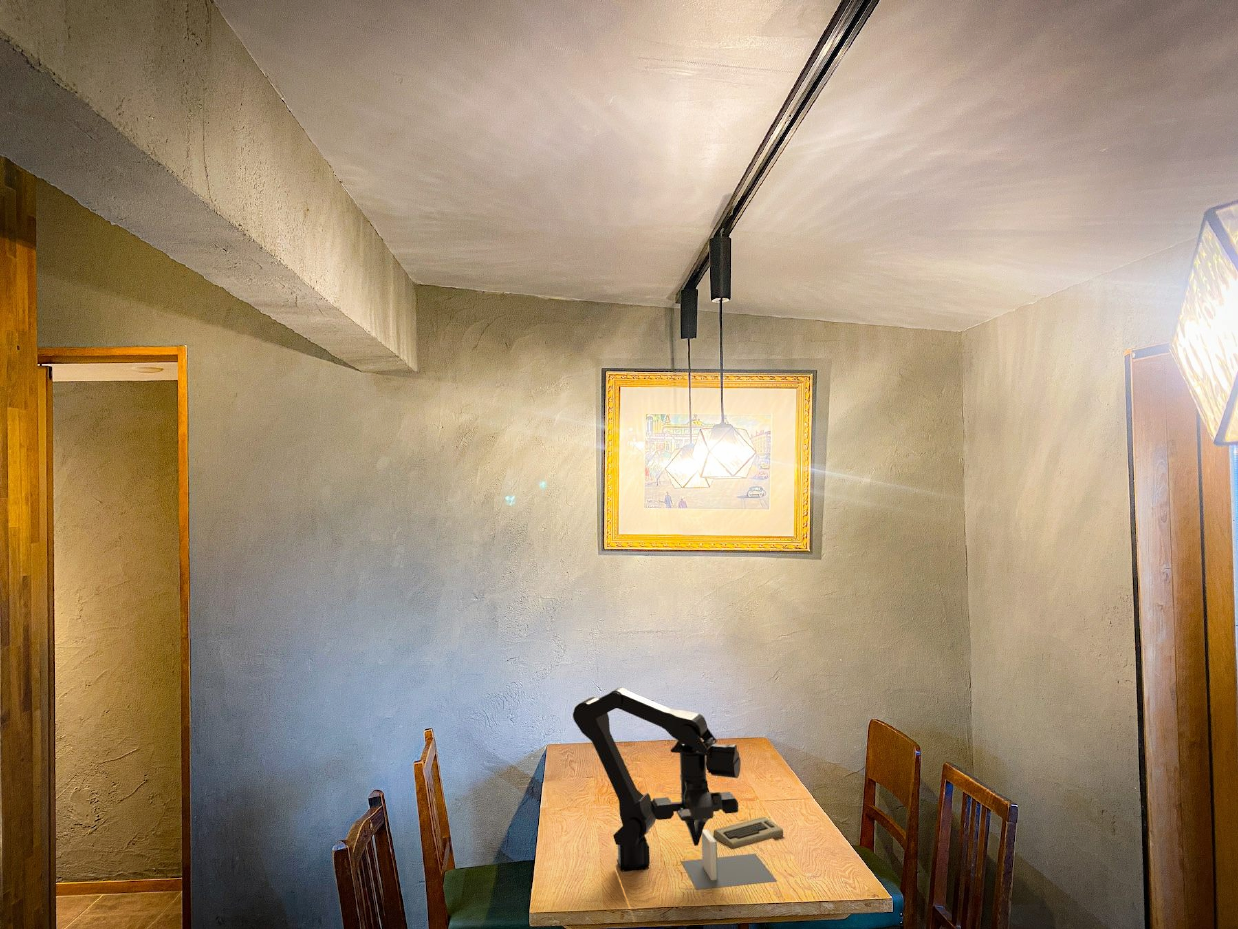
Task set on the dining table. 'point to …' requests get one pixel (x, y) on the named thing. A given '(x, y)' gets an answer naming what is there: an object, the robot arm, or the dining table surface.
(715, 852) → the tile
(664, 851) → the dining table surface
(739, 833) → the computer
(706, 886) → the mat
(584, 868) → the dining table surface
